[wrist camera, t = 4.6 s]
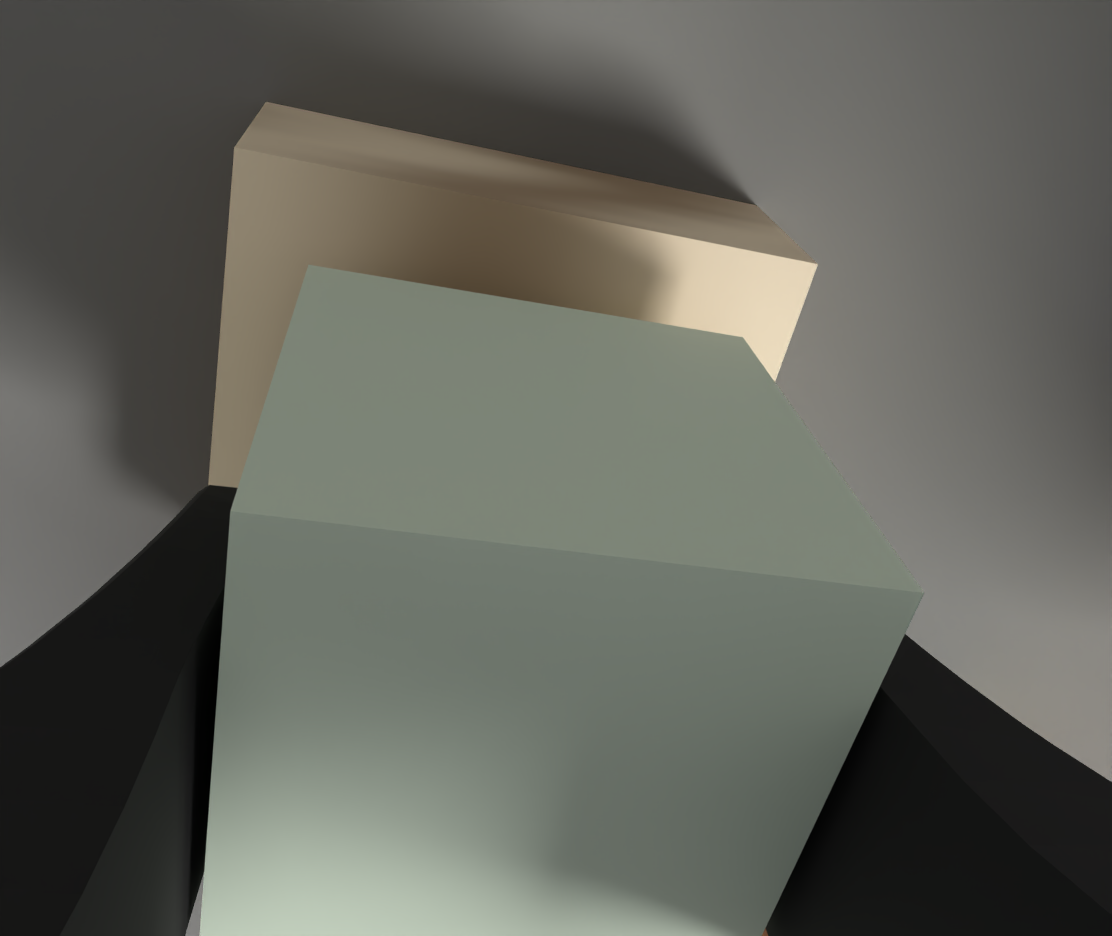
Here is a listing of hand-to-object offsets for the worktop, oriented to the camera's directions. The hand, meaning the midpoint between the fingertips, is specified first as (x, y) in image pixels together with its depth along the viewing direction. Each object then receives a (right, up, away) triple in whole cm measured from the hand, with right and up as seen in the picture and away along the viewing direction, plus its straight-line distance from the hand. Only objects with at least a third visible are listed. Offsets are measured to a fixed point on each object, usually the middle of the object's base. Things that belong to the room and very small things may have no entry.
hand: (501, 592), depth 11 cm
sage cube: (0, +1, +2) cm, 2 cm away
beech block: (-1, +3, +5) cm, 6 cm away
